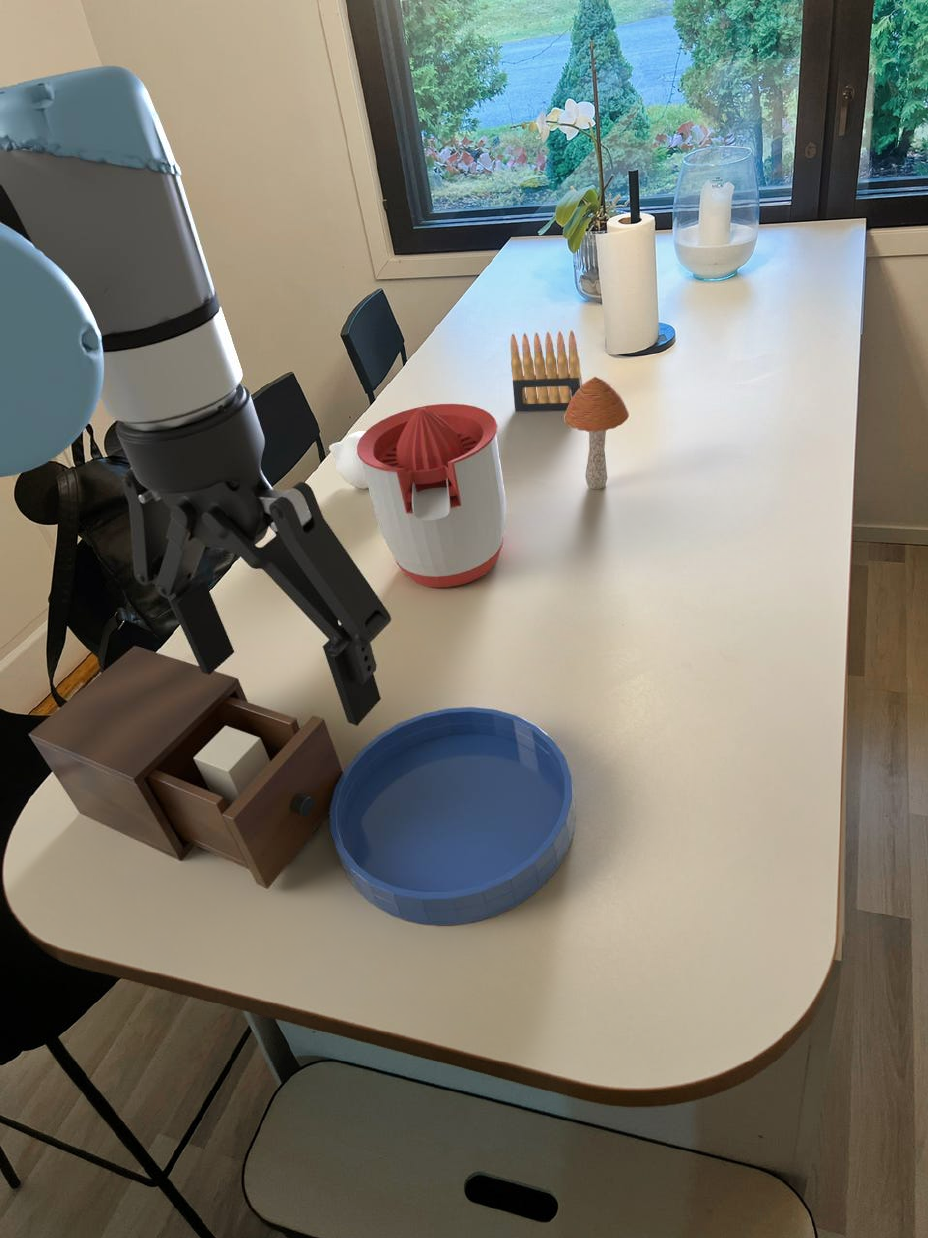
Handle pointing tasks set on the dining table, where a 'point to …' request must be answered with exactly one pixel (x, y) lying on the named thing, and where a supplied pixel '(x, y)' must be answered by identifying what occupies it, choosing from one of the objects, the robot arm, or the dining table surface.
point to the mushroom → (596, 423)
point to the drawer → (252, 790)
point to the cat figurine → (350, 460)
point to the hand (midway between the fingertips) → (287, 685)
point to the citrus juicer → (437, 491)
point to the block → (231, 762)
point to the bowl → (454, 815)
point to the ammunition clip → (539, 379)
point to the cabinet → (130, 739)
